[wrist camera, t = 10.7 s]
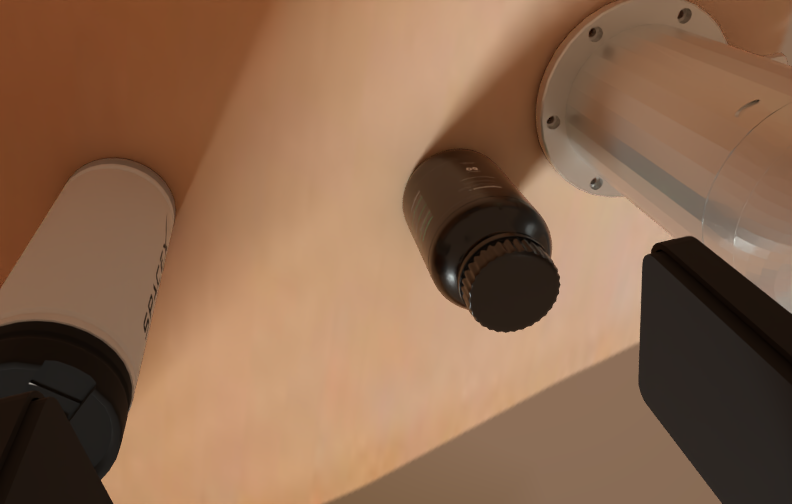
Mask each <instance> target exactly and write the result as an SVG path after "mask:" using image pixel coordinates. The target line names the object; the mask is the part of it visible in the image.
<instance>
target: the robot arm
mask: <svg viewBox="0 0 792 504" xmlns="http://www.w3.org/2000/svg"><path fill="white" fill-rule="evenodd" d="M679 12H680V13H679ZM678 14H679V15H678ZM591 29H592V30H593V31H592V33H591V35H589V31H590V30H591ZM588 35H589V36H588ZM549 117H551V120H550V121H548V122H547V120H548V119H549ZM536 128H537V133H538V138H539V143H540V145H541V147H542V150H543V152H544V154H545V157H546V158H547V160H548V161H549V162H550V164H551V165H552V167H553V168H554V169H555V171H556V172H558V173H559V174H560V175H561V176H562V177H563V178H564V179H565V180H566V181H567V182H569V183H570V184H572V185H573V186H575V187H576V188H578V189H579V190H582V191H584V192H587V193H589V194H592V195H597V196H604V197H626V198H627V199H628V200H629V201H630V202H632V203H633V204H634V205H635V206H636V207H638V208H639V209H640V210H641V211H642V212H644V213H645V214H646V215H647V216H648V217H650V218H651V219H652V220H653V221H654V222H656V223H657V224H658V225H659V226H660V227H662V228H663V229H664V230H665V231H666V232H668V233H669V234H670V235H671V236H672V237H674V238H675V239H672V240H668V241H664V242H660V243H656V244H655V245H654V246H653V248H652V250H651V254H648V255H646V256H645V257H644V259H643V264H642V293H641V322H640V351H639V388H640V392H641V395H642V397H643V399H644V401H645V402H646V404H647V405H648V407H649V408H650V409H651V411H652V412H653V413H654V415H655V416H656V417H657V419H658V420H659V421H660V422H661V424H662V425H663V426H664V428H665V429H666V430H667V432H668V433H669V434H670V436H671V437H672V438H673V439H674V441H675V442H676V443H677V445H678V446H679V447H680V449H681V450H682V451H683V453H684V454H685V455H686V457H687V458H688V459H689V461H691V463H692V464H693V466H694V467H695V468H696V470H697V471H698V472H699V474H700V475H701V476H702V478H703V479H704V480H705V481H706V483H707V484H708V485H709V487H710V488H711V489H712V491H713V492H714V493H715V495H716V496H717V497H718V499H719V500H720V501H721V502H722V504H792V66H790V65H788V61H787V58H786V56H785V55H784V54H782V53H775V54H770V55H766V56H760V55H757V54H754V53H751V52H748V51H745V50H742V49H739V48H736V47H733V46H730V45H728V43H727V41H726V39H725V36H724V34H723V32H722V30H721V28H720V27H719V26H718V24H717V23H716V22H715V21H714V20H713V18H712V17H711V16H710V15H709V14H708V13H707V12H705V11H704V10H702V9H701V8H700V7H698V6H697V5H695V4H693V3H691V2H688V1H685V0H617V1H615V2H612V3H610V4H608V5H605V6H603V7H602V8H600V9H599V10H597V11H596V12H594V13H592V14H591V15H589V16H588V17H586V18H585V19H584V20H583V21H582V22H581V23H580V24H579V25H578V26H576V27H575V28H574V29H573V30H572V31H571V32H570V33H569V34H568V36H567V37H566V38H565V39H564V41H563V42H562V43H561V44H560V46H559V47H558V48H557V50H556V51H555V53H554V55H553V57H552V59H551V60H550V62H549V64H548V66H547V68H546V70H545V73H544V76H543V78H542V81H541V84H540V87H539V92H538V97H537V103H536ZM0 504H113V502H112V500H111V499H110V497H109V495H108V493H107V491H106V489H105V487H104V486H103V484H102V482H101V480H100V478H99V476H98V474H97V473H96V471H95V469H94V467H93V465H92V463H91V461H90V460H89V458H88V456H87V454H86V452H85V450H84V448H83V446H82V445H81V443H80V441H79V439H78V437H77V435H76V433H75V432H74V430H73V428H72V426H71V424H70V422H69V420H68V419H67V417H66V415H65V413H64V411H63V409H62V407H61V406H60V404H59V402H58V401H57V399H55V398H54V397H46V398H45V397H44V395H43V394H42V393H40V392H39V391H35V390H34V391H30V392H25V393H21V394H17V395H13V396H8V397H4V398H0Z"/></svg>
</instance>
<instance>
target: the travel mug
mask: <svg viewBox="0 0 792 504" xmlns="http://www.w3.org/2000/svg"><path fill="white" fill-rule="evenodd" d="M175 213H176V208H175V202H174V198H173V196H172V193H171V191H170V189H169V188H168V186H167V185H166V183H165V182H164V181H163V180H162V179H161V178H160V176H159V175H158V174H156V173H155V172H154V171H152V170H151V169H149V168H148V167H146V166H144V165H142V164H140V163H137V162H134V161H131V160H128V159H120V158H105V159H100V160H96V161H93V162H90V163H88V164H86V165H84V166H82V167H81V168H80V169H78V170H77V171H76V172H75V173H74V174H73V175H72V176H71V177H70V178H69V180H68V181H67V183H66V184H65V186H64V188H63V190H62V191H61V192H60V194H59V196H58V197H57V199H56V200H55V202H54V204H53V205H52V207H51V208H50V210H49V212H48V213H47V215H46V216H45V218H44V220H43V221H42V223H41V224H40V226H39V228H38V229H37V231H36V232H35V234H34V236H33V237H32V239H31V240H30V242H29V244H28V245H27V247H26V248H25V250H24V251H23V253H22V255H21V256H20V258H19V259H18V261H17V263H16V264H15V266H14V267H13V269H12V271H11V272H10V274H9V275H8V277H7V279H6V280H5V282H4V283H3V285H2V287H1V288H0V398H4V397H8V396H13V395H17V394H21V393H25V392H30V391H34V390H35V391H39V392H40V393H42V394H43V395H44V397H45V398H46V397H54V398H55V399H57V401H58V402H59V404H60V406H61V407H62V409H63V411H64V413H65V415H66V417H67V419H68V420H69V422H70V424H71V426H72V428H73V430H74V432H75V433H76V435H77V437H78V439H79V441H80V443H81V445H82V446H83V448H84V450H85V452H86V454H87V456H88V458H89V460H90V461H91V463H92V465H93V467H94V469H95V471H96V473H97V474H98V476H99V478H100V480H101V479H102V478H103V477H104V476H105V475H106V473H107V472H108V471H109V470H110V468H111V467H112V465H113V463H114V462H115V460H116V458H117V455H118V452H119V449H120V446H121V442H122V438H123V433H124V429H125V425H126V421H127V415H128V412H129V410H130V407H131V404H132V401H133V398H134V393H135V388H136V385H137V380H138V376H139V372H140V368H141V363H142V359H143V355H144V350H145V346H146V342H147V337H148V333H149V329H150V325H151V320H152V316H153V312H154V307H155V303H156V299H157V294H158V290H159V286H160V282H161V277H162V273H163V269H164V264H165V260H166V256H167V251H168V247H169V243H170V239H171V234H172V229H173V226H174V221H175Z"/></svg>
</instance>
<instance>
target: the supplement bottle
mask: <svg viewBox="0 0 792 504" xmlns="http://www.w3.org/2000/svg"><path fill="white" fill-rule="evenodd" d="M403 212H404V216H405V220H406V222H407V225H408V227H409V229H410V232H411V234H412V236H413V238H414V240H415V243H416V245H417V247H418V249H419V251H420V253H421V256H422V258H423V260H424V262H425V264H426V267H427V269H428V271H429V273H430V275H431V277H432V279H433V281H434V283H435V285H436V287H437V288H438V290H439V291H440V292H441V294H442V295H443V296H444V297H445V298H446V299H448V300H449V301H450V302H452V303H453V304H455V305H457V306H459V307H461V308H464V309H467V310H469V311H470V313H471V315H473V317H474V319H475V320H476V321H477V322H480V324H481V325H482V326H484V327H487V328H488V329H489V330H495V331H496V332H500V331H502V332H505V333H506V332H509V331H512V332H515V331H517V330H522V329H524V328H526V327H528V326H532V325H533V324H534V323H535V322H538V321H539V320H540V319H541V318H542V317H543V316H545V315H546V314H547V312H548V311H549V310H550V309H551V308H552V306H553V304H554V303H555V302H556V298H557V295H558V294H559V287H560V282H559V279H560V276H559V274H558V269H557V267H556V266H555V265H554V263H553V261H552V259H551V255H552V240H551V235H550V232H549V229H548V226H547V225H546V223H545V221H544V220H543V218H542V217H541V215H540V214H539V213H538V212H537V210H536V209H535V208H534V207H533V206H532V205H531V204H530V202H529V201H528V200H527V199H526V198H525V197H524V196H523V194H522V193H521V192H520V191H519V190H518V189H517V188H516V186H515V185H514V184H513V183H512V182H511V181H510V180H509V178H508V177H507V176H506V175H505V174H504V173H503V172H502V171H501V169H500V168H499V167H498V166H497V165H496V164H495V163H494V162H493V161H492V160H490V159H489V158H488V157H486V156H485V155H483V154H481V153H479V152H476V151H473V150H468V149H451V150H446V151H443V152H440V153H437V154H435V155H433V156H431V157H430V158H428V159H427V160H425V161H424V162H423V163H422V164H421V165H419V166H418V168H417V169H416V170H415V171H414V172H413V174H412V175H411V177H410V178H409V180H408V182H407V185H406V187H405V191H404V195H403Z"/></svg>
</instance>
